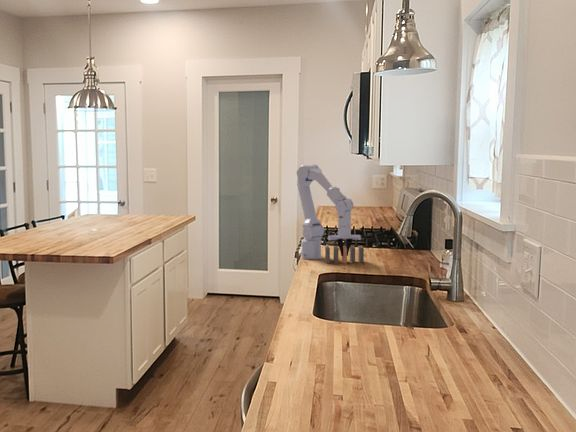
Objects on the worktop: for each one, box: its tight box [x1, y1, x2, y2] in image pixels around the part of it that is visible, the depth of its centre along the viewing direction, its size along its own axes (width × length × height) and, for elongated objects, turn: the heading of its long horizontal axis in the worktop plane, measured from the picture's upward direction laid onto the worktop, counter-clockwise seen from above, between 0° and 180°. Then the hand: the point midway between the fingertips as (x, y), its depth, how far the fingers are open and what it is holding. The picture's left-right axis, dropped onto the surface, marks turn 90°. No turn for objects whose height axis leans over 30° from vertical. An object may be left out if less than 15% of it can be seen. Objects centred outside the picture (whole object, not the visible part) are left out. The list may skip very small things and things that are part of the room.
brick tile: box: [341, 245, 348, 264], centre depth 225 cm, size 2×5×7 cm, turn 2°
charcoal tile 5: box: [324, 245, 331, 265], centre depth 225 cm, size 2×5×7 cm, turn 2°
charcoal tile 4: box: [333, 245, 339, 265], centre depth 225 cm, size 2×5×7 cm, turn 2°
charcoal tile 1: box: [357, 245, 365, 264], centre depth 225 cm, size 2×5×7 cm, turn 2°
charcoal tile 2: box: [349, 245, 356, 264], centre depth 225 cm, size 2×5×7 cm, turn 2°
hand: (344, 255), depth 225 cm, fingers closed on brick tile, 1 cm apart
